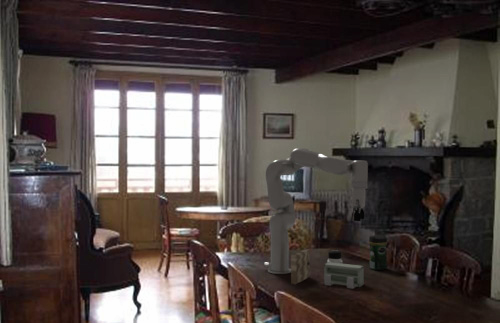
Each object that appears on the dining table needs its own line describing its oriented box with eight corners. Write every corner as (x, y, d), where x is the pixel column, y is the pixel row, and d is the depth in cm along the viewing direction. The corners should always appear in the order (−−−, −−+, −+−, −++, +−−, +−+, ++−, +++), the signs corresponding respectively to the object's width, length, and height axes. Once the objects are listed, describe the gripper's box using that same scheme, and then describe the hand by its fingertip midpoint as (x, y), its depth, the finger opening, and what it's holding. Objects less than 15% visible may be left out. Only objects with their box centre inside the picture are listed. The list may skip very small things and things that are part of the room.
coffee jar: (380, 266, 298) (381, 233, 298) (389, 269, 291) (389, 235, 290) (366, 267, 294) (366, 234, 294) (374, 270, 287) (374, 236, 287)
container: (341, 278, 269) (342, 252, 269) (326, 277, 271) (326, 252, 271) (342, 274, 277) (342, 250, 277) (327, 274, 278) (327, 249, 278)
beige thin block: (297, 284, 255) (297, 255, 255) (291, 283, 257) (291, 255, 257) (311, 277, 271) (311, 249, 271) (304, 276, 273) (305, 249, 273)
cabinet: (320, 284, 256) (320, 266, 256) (328, 280, 265) (328, 262, 265) (357, 289, 247) (357, 270, 247) (363, 284, 257) (363, 265, 257)
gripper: (355, 184, 271) (354, 217, 271) (348, 186, 255) (347, 221, 255) (370, 184, 268) (369, 218, 268) (364, 186, 252) (363, 222, 252)
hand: (359, 219), depth 262 cm, fingers open, 9 cm apart
